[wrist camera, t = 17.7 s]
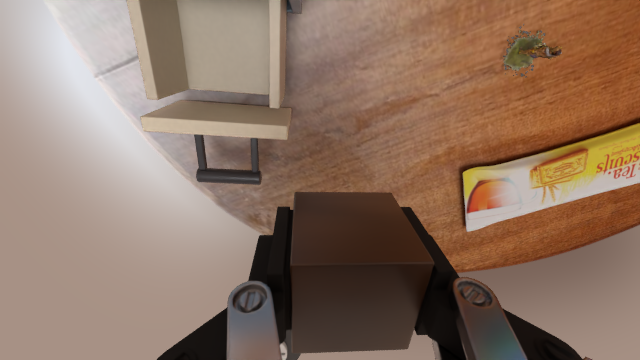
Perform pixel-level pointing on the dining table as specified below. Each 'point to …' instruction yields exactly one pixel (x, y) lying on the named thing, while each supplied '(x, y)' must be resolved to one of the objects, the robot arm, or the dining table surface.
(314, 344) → the block
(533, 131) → the dining table surface
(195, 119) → the drawer
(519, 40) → the soldier figurine
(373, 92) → the dining table surface
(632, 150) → the food package
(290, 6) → the cabinet
